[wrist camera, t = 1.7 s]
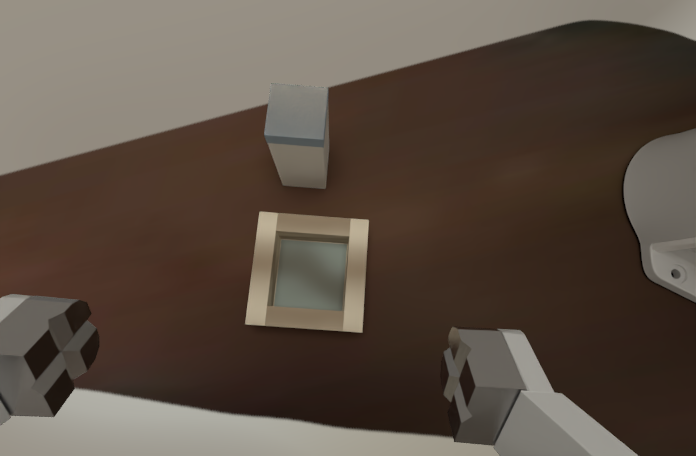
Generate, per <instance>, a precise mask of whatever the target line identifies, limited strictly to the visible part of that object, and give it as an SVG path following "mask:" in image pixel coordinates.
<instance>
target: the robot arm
mask: <svg viewBox="0 0 696 456" xmlns="http://www.w3.org/2000/svg"><path fill="white" fill-rule="evenodd" d="M624 201H625V206H626V210H627V214H628V217H629V219H630V222H631V224H632V226H633V228H634V230H635V232H636V234H637V236H638V239H639V241H640V244H641V256H642V264H643V269H644V272H645V274H646V275H647V277H648V278H649V279H650V280H652V281H653V282H655V283H657V284H659V285H661V286H663V287H665V288H667V289H669V290H671V291H673V292H675V293H677V294H679V295H681V296H683V297H685V298H687V299H689V300H691V301H693V302H695V303H696V128H695V129H692V130H688V131H685V132H681V133H677V134H673V135H667V136H663V137H660V138H657V139H655V140H653V141H651V142H649V143H648V144H646V145H645V146H643V147H642V148H641V149H640V150H639V151H638V152H637V153H636V154H635V156H634V157H633V159H632V160H631V162H630V164H629V166H628V168H627V171H626V175H625V179H624ZM671 272H672V273H673V275H674V277H672V275H671ZM90 315H91V311H90V309H89V306H88V304H87V302H84V301H81V300H74V299H63V298H52V297H42V296H26V295H16V294H10V295H7V296H4V297H2V298H0V425H2V424H3V423H5V422H6V421H7V420H9V419H10V418H11V416H39V417H54V416H55V415H56V414H57V412H58V411H59V409H60V408H61V407H62V405H63V404H64V403H65V401H66V399H67V398H68V397H69V396H70V394H71V393H72V391H73V390H74V389H75V388H74V379H75V378H76V377H78V376H80V375H81V374H83V373H85V372H86V371H88V369H89V368H90V366H91V365H92V363H93V362H94V360H95V358H96V355H97V352H98V349H99V334H98V331H97V328H96V327H94V326H93V325H92V324H91V323H90V322H88V321H87V320H88V318H89V317H90ZM448 341H449V345H450V348H449V349H447V350H446V351H445V352H444V353H443V357H442V361H441V371H440V376H441V385H442V390H443V394H444V395H445V396H446V398H447V399H448V400H449V401H450V402H451V404H450V407H449V410H448V417H449V421H450V426H451V430H452V434H453V438H454V442H461V443H472V444H483V445H494V449H495V450H496V451H497V453H498V454H499V455H500V456H638V455H637V454H636V453H634V452H633V451H632V450H631V449H629V448H628V447H627V446H626V445H625V444H623V443H622V442H621V441H620V440H618V439H617V438H616V437H615V436H613V435H612V434H611V433H610V432H609V431H607V430H606V429H605V428H604V427H602V426H601V425H600V424H599V423H598V422H596V421H595V420H594V419H593V418H591V417H590V416H589V415H588V414H586V413H585V412H584V411H583V410H582V409H580V408H579V407H578V406H577V405H575V404H574V403H573V402H572V401H570V400H569V399H568V398H567V397H566V396H564V395H563V394H562V393H554V391H553V389H552V387H551V385H550V383H549V381H548V379H547V377H546V375H545V373H544V371H543V369H542V367H541V365H540V364H539V362H538V360H537V358H536V356H535V354H534V352H533V350H532V348H531V346H530V344H529V342H528V340H527V338H526V336H525V334H524V333H523V332H522V331H520V330H509V329H490V328H474V327H457V326H453V328H452V329H451V330H450V333H449V336H448Z"/></svg>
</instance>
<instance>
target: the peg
mask: <svg viewBox="0 0 696 456" xmlns="http://www.w3.org/2000/svg"><path fill="white" fill-rule="evenodd" d="M264 136H265V139H266V141H267V143H268V146H269V148H270V151H271V154H272V157H273V160H274V162H275V165H276V168H277V171H278V173H279V176H280V179H281V182H282V184H283V186H294V187H307V188H320V189H326V180H327V169H328V157H329V120H328V88H324V87H312V86H299V85H288V84H276V83H271V88H270V96H269V103H268V110H267V118H266V125H265V133H264Z"/></svg>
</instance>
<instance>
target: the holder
mask: <svg viewBox="0 0 696 456" xmlns="http://www.w3.org/2000/svg"><path fill="white" fill-rule="evenodd" d="M368 225H369V220H362V219H349V218H336V217H323V216H310V215H297V214H284V213H271V212H260V213H259V220H258V228H257V236H256V244H255V251H254V259H253V267H252V274H251V282H250V290H249V298H248V305H247V313H246V321H245V324H247V325H261V326H275V327H290V328H304V329H318V330H332V331H346V332H360V333H362V329H363V312H364V294H365V277H366V260H367V243H368Z"/></svg>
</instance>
